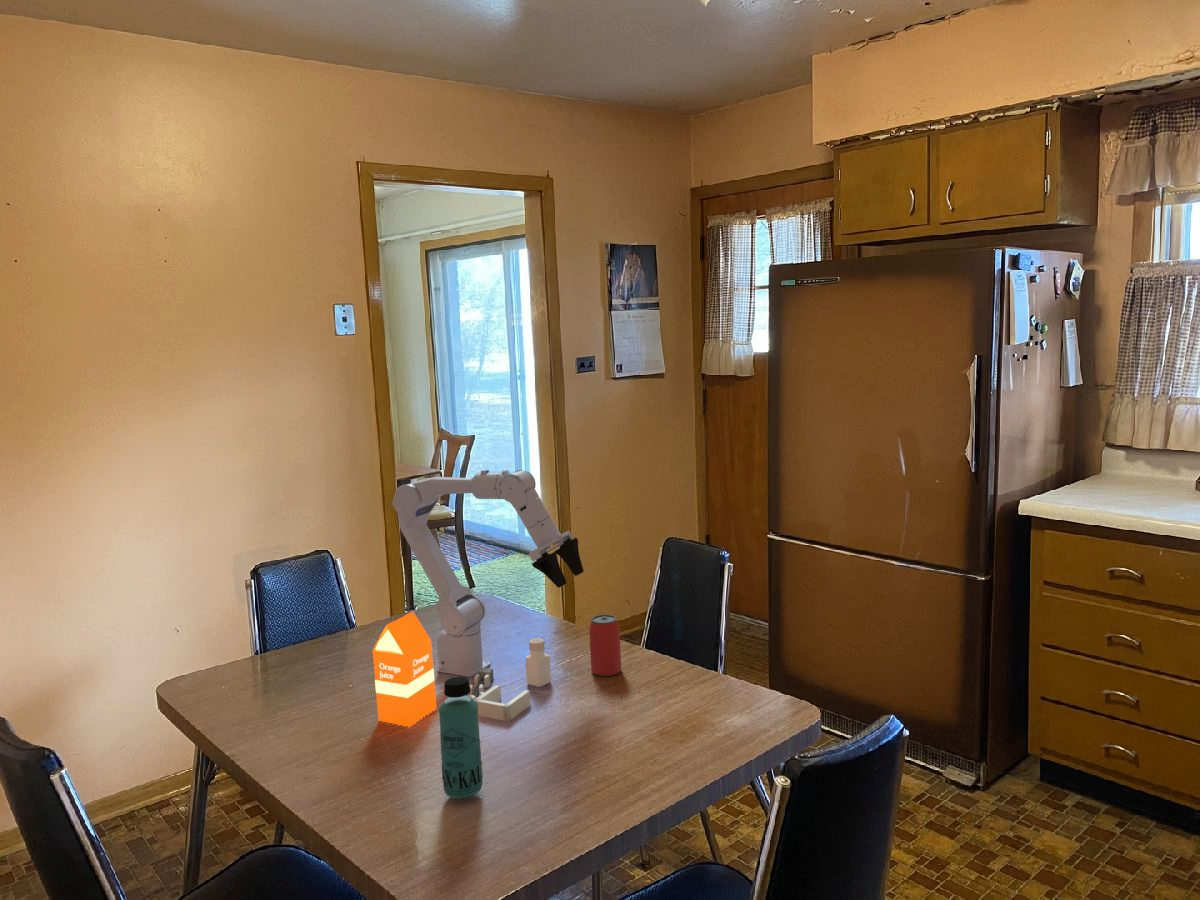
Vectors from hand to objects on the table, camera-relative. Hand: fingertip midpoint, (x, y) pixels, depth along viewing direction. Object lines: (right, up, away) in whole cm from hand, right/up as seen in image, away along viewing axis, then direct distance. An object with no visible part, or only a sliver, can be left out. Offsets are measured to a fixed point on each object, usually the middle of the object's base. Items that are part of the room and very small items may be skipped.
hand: (571, 579), depth 183 cm
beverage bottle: (-16, -29, -41) cm, 53 cm away
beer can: (+7, -21, +8) cm, 24 cm away
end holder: (-13, -25, -9) cm, 29 cm away
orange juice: (-32, -26, -9) cm, 42 cm away
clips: (-19, -24, -2) cm, 30 cm away
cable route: (-18, -24, 0) cm, 30 cm away
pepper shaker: (-7, -23, +3) cm, 24 cm away
